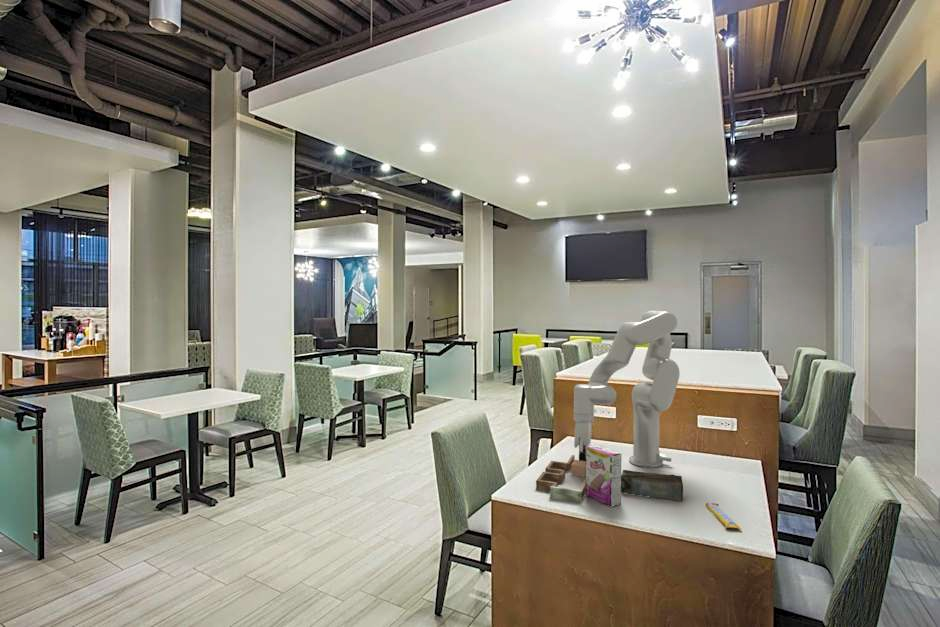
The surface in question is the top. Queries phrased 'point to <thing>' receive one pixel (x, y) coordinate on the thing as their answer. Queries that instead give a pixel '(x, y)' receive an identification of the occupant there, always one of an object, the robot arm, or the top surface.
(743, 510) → the top surface
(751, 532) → the top surface
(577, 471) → the block
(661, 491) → the dark brown long block
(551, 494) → the trap lane
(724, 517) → the candy bar
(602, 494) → the candy bar box
